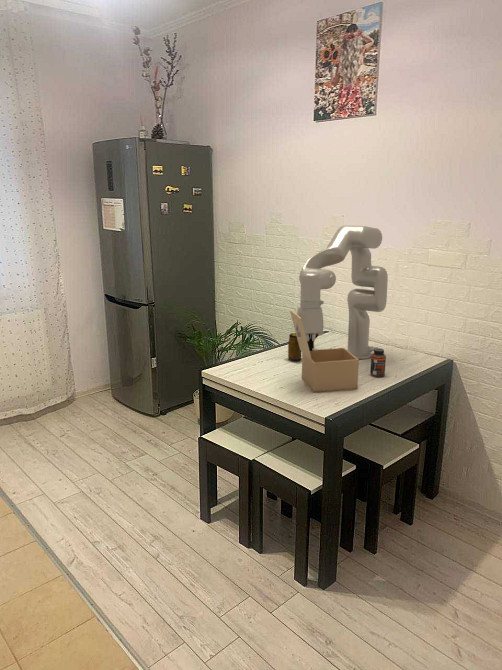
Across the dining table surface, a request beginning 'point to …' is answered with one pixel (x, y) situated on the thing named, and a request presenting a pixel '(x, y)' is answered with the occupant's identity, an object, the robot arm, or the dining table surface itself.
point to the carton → (330, 370)
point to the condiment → (293, 349)
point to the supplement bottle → (378, 363)
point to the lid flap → (301, 340)
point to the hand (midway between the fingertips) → (309, 350)
